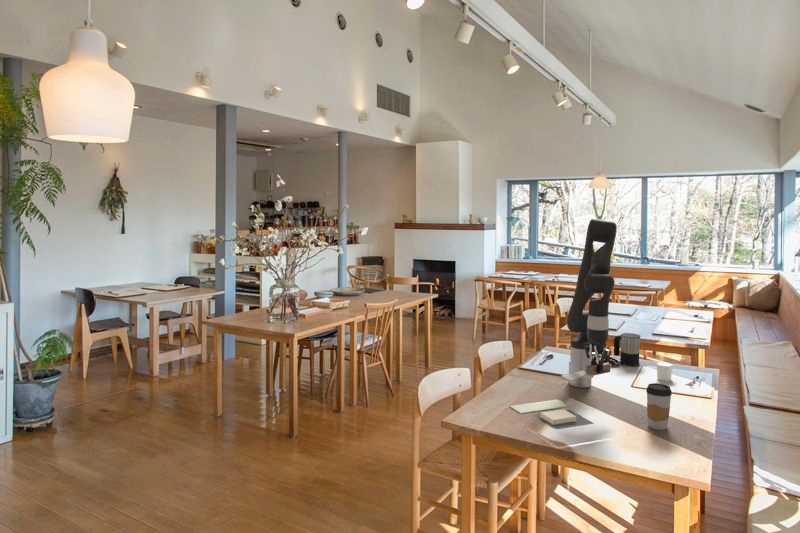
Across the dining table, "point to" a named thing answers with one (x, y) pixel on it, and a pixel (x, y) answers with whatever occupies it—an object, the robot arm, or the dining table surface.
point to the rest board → (539, 406)
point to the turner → (585, 373)
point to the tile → (558, 417)
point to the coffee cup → (658, 405)
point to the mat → (578, 422)
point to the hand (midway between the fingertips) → (596, 371)
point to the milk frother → (626, 350)
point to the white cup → (664, 371)
